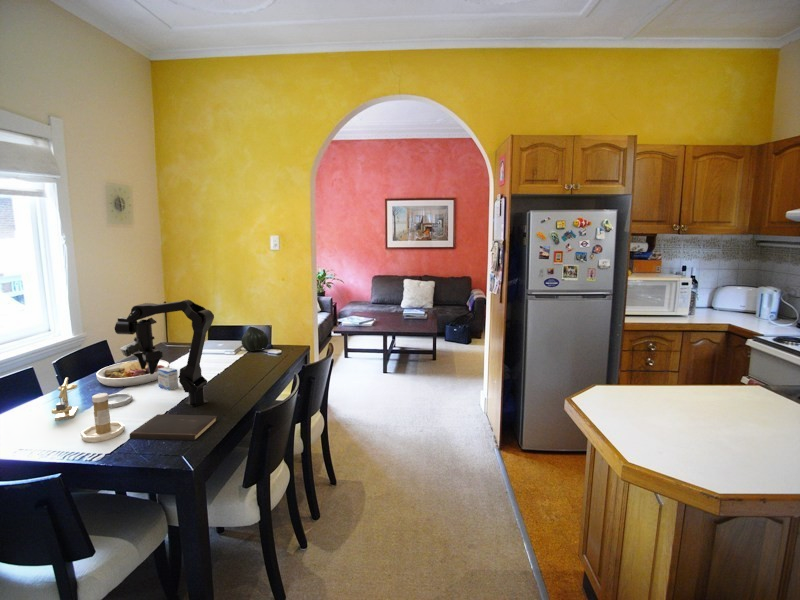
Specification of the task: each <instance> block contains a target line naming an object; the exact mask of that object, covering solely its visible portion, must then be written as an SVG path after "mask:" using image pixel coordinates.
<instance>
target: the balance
mask: <svg viewBox="0 0 800 600" xmlns="http://www.w3.org/2000/svg"><path fill="white" fill-rule="evenodd" d="M68 380H69V377H65V379H64V381H63V383H62V385H60V386H59V387H58V388H57V389H58V391H59V395H58V399H59V401H58V402H57V403H56V404H55V408H53V409H51V414H52V415H53V414H54V415H55V417H54V421H55V422H56V421H62V420H63V419H64V420H69V418H70V419H74V418H75V416H76V414H77V413H78V411H79V406H71V405H69V397H68V391H71V390H75V389H77V388H78V384H76V383H70V384H69V381H68ZM76 412H77V413H76Z"/></svg>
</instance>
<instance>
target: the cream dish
mask: <svg viewBox="0 0 800 600" xmlns="http://www.w3.org/2000/svg"><path fill="white" fill-rule="evenodd" d="M110 426H111V431H109V432H107V433H104V434H97V433H96V425H95V424H94V425H89V426H88V427H86V428H85V429H84V430H82V431H81V432H80V436H81V440H82V441H83V442H86V443H98V442H105V441H108V440H111V439H114V438H116V437H118V436H120V435H121V434H122V433H124V431H125V430H124V429H125V424H123V422H121V421H110Z"/></svg>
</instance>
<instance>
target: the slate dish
mask: <svg viewBox="0 0 800 600" xmlns="http://www.w3.org/2000/svg"><path fill="white" fill-rule="evenodd" d="M133 397H134V396H133V395H131V394H130V393H129V392H125V393H124V392H123V393H122V392H119V393H118V392H117V393H112V394H108V406H109V409H114V408H120V407H122V406H125V405H127V404H129V402H132V400H133ZM119 406H120V407H119Z"/></svg>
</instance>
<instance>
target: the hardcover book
mask: <svg viewBox="0 0 800 600" xmlns="http://www.w3.org/2000/svg"><path fill="white" fill-rule="evenodd" d="M217 416H218V415H202V414H201V415H199V414H198V415H195V414H166V413H165V414H160V413H158V414H156V415H154V416H152V417H151V418H150V419H149V420H147V421H145V422H144V423H143V424H141V425H139V426H138V427H137V428H136V429H134V430H133V431H131V432H130V433H129V439H135V440H138V439H139V440H144V439H145V440H169V441H170V440H172V441H173V440H174V441H175V440H176V441H196V439H197V438H198V437H200V436H201V435H202V434H203V433H204V432H205V431H207V429H208V428H210V427H211V426H212V425H213V424H214V423H215V422H216V421H217Z"/></svg>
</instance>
